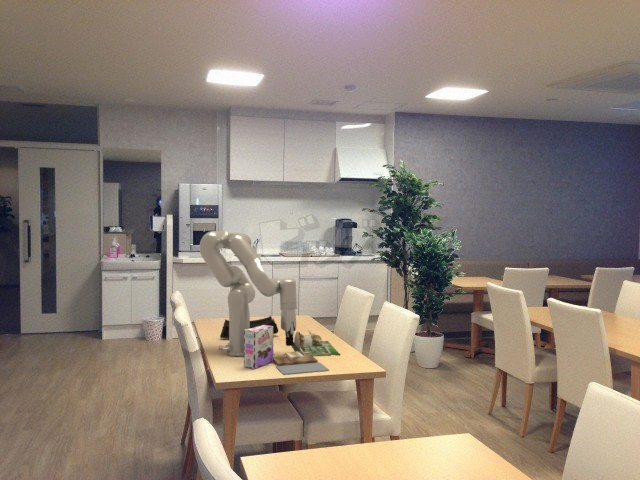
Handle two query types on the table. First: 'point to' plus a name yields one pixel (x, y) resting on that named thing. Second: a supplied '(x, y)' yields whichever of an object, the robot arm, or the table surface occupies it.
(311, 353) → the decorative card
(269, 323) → the magazine
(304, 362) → the walnut deck
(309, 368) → the slate mat
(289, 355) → the birch tile
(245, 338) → the candy box
